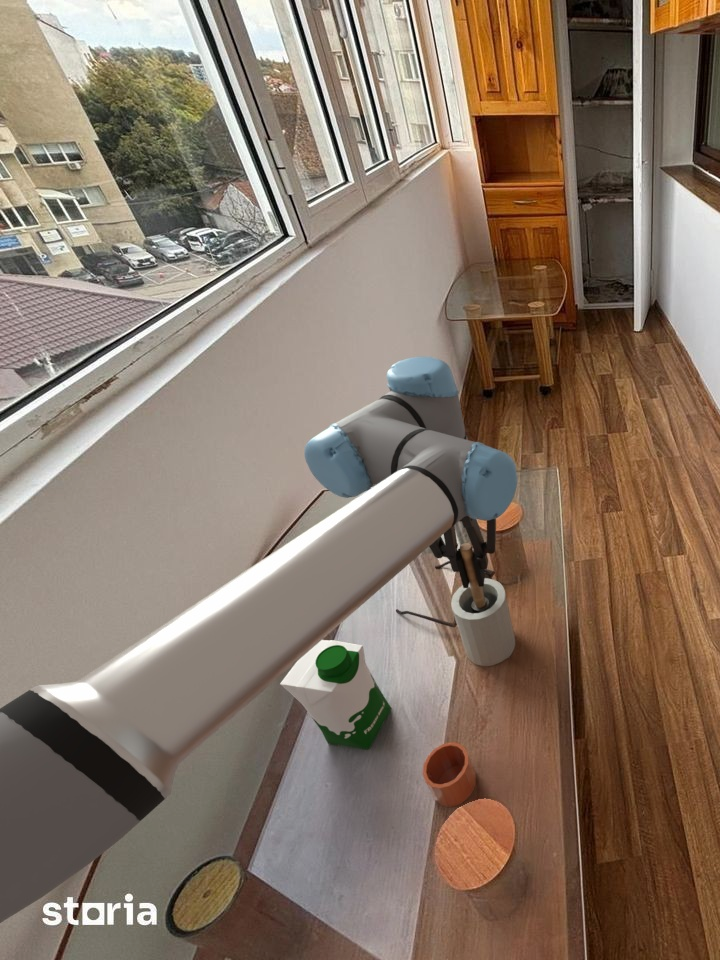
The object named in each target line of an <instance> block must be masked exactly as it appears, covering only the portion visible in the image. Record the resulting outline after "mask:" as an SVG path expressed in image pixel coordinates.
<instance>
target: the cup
mask: <svg viewBox="0 0 720 960" xmlns="http://www.w3.org/2000/svg"><path fill="white" fill-rule="evenodd" d="M482 589H483V593H484V597H486V598H487V599H488V600H489V602H490V606H491V608H490V609H488V610H486V611H484V612H481V613H473V609H472V602H473V601H474V599H473V595H472V592H471V588H470V584H469V587H468V588H463V584H462V585H460V586H459V588H457V590H456V591H455V592H454V594H452V597H451V600H450V605H451V611H452V614H453V618H454V617H455V620H456V623H457V625H456V627H457V629H458V633H459V636H460V639H461V642H462V645H463V649H464V652H465V655H466V657H467V658H468V660H469V661H470V662H471V663H472V664H474V665H477V666H480V667H490V666H495V665H498V664H500V663H502V662H503V661H505V660H506V659H509V658H510V656H511V655H512V654H513V653H514V651H515V647H516V637H515V633H514V627H513V623H512V618H511V613H510V608H509V604H508V598H507V595H506V591H505V590H506V589H505V587H504V586H503V585H502V583H500V582H499V581H497V580H496V579H493V578H492V579H488V578H485V580H484V586H482Z"/></svg>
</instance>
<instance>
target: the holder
mask: <svg viewBox="0 0 720 960" xmlns="http://www.w3.org/2000/svg"><path fill="white" fill-rule="evenodd" d="M422 767H423V768H422V776H423V779H424V782H425V784H426V786H427V787H428V789H429V792H430V793H431V795H432V797H433V799H434V801H435V802H436V803H438V804H439V805H440V806H441V807H445V808H451V807H456V806H459V805H461V804H462V803H464V802H465V801H466V800H467V799H469V798H470V796H471V795H472V794H473V792H474V790H475V787H476V784H477V773H476V771H475V768H474V765H473V763H472V760H471V758H470V756H469V753H468V751H467V749H466V747H465V746H463V745H462V744H461V743H458V742H454V741H450V742H444V743H441V744H440V745H438V746H436V747H435V748H434V749H433V750H432V751H431V752H430V753H429V754H428V755H427V757H426V758H425V761H424V764H423V766H422Z"/></svg>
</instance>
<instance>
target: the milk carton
mask: <svg viewBox="0 0 720 960" xmlns="http://www.w3.org/2000/svg"><path fill="white" fill-rule="evenodd" d="M279 685H280V686H281V687H283V688H284V689H285V690H286V691H287V692H288V693H289V694H290V695H291V696H293V697H294V699H296V700H297V701H298V702H299V703H300V704H301V705H302V707H303V708H304V709H305V711H306V712H307V713H308V714H309V716H310V718H311V719H312V720H313V721H314V723H315V724H316V725H317V727H318V728H319V730H320V731H321V733H322V735H323V737H324V739H325V741H326V743H327V744H328V745H333V746H341V747H347V748H354V749H359V750H367V751H368V750H370V749H371V747H372V746H373V744H374V742H375V740H376V738H377V736H378V734H379V732H380V730H381V729H382V727H383V725H384V723H385V721H386V720H387V718H388V716H389V715H390V713H391V710H392V707H391V705H390V703H389V702H388V701H387V698H386V697H385V695H384V694H383V692H382V690H381V689H380V688H379V686H378V684H377V681H376V680H375V678H374V676H373V674H372V672H371V669H370V668H369V667H368V664H367V663H366V658H365V649H364V645H363V644H358V643H352V642H345V641H338V640H334V639H330V640H327V639H322V640H321V641H320V642H319V643H318V644H316V645H315V646H314V647H313V648H312V649H311V650H310V651H308V652H307V653H306V654H305V655H304V656H303V657H302V658H300V659H299V660H298V661H297V662H296V663H295V664H293V665H292V666H291V668H290V670H289V671H288V672H287V673H286V675H285V676H284V678H283V679H282V680H281V682H280V683H279Z"/></svg>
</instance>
